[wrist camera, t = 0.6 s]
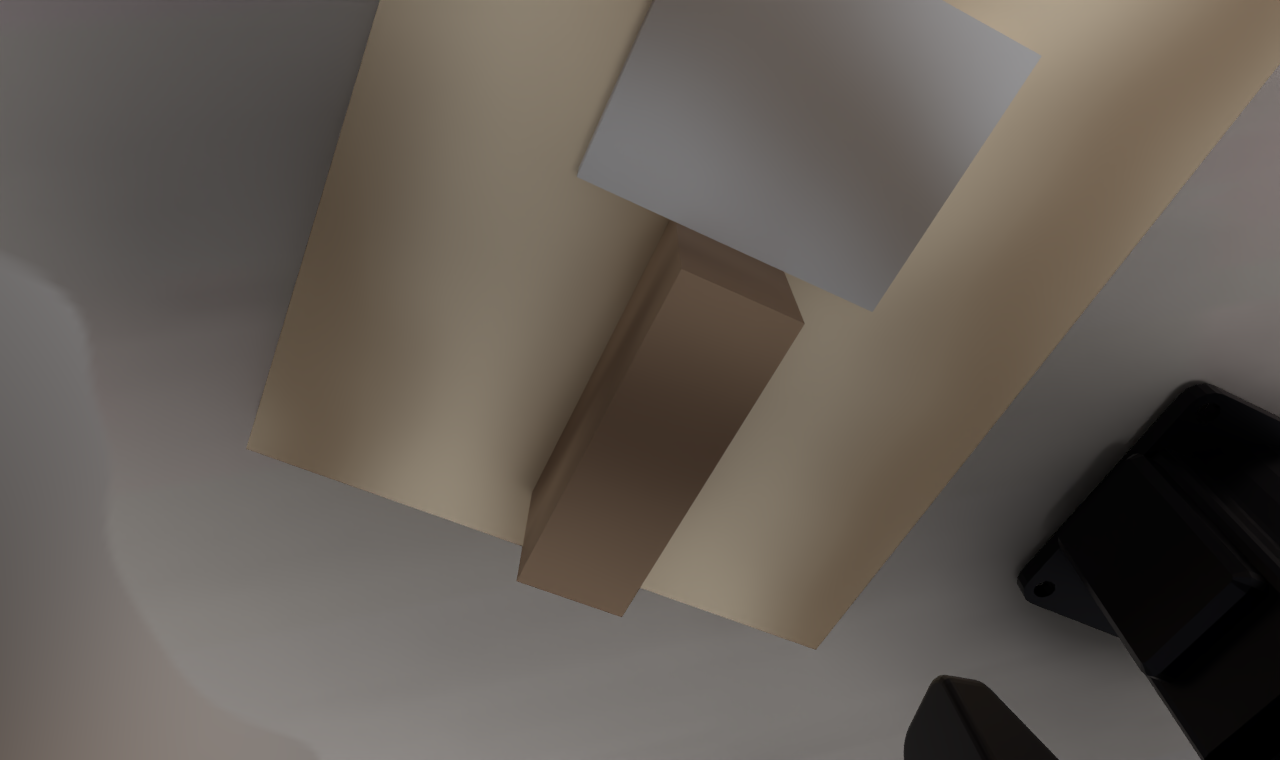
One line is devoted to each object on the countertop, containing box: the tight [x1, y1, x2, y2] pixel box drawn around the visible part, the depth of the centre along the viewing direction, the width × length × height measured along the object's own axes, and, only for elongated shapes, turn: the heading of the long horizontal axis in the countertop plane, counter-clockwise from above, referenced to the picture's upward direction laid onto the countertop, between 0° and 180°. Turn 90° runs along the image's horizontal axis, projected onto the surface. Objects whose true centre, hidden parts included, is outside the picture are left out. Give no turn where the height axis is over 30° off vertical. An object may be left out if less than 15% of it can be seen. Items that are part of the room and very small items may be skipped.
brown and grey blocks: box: [517, 0, 1041, 617], centre depth 15 cm, size 12×6×3 cm, turn 155°
